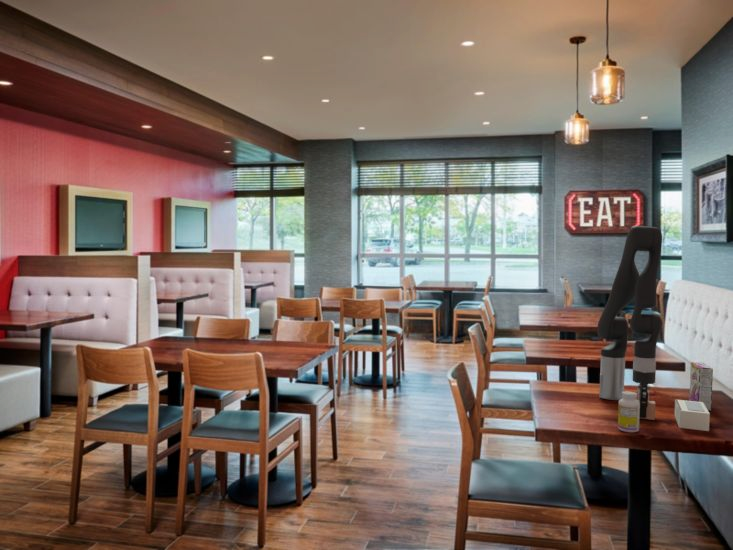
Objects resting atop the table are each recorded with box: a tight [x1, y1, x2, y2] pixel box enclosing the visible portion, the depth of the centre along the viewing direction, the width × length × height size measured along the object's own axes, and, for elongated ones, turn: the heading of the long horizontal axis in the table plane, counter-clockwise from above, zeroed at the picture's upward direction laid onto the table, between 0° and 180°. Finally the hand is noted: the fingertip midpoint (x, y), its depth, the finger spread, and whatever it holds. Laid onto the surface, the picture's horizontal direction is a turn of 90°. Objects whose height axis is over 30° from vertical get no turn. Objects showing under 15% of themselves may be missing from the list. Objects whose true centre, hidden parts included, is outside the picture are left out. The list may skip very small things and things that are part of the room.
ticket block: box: [674, 399, 711, 432], centre depth 215 cm, size 9×16×6 cm, turn 159°
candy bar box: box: [688, 361, 714, 411], centre depth 237 cm, size 11×5×16 cm, turn 168°
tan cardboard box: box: [636, 398, 657, 421], centre depth 221 cm, size 8×4×6 cm, turn 68°
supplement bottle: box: [617, 390, 640, 433], centre depth 206 cm, size 7×7×13 cm
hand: (642, 415), depth 221 cm, fingers closed on tan cardboard box, 4 cm apart
